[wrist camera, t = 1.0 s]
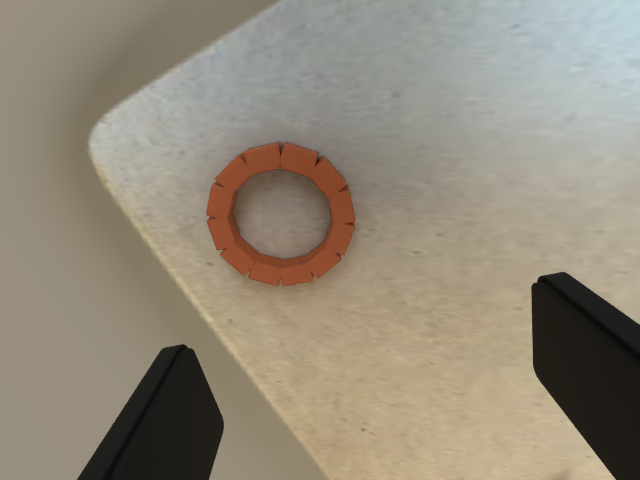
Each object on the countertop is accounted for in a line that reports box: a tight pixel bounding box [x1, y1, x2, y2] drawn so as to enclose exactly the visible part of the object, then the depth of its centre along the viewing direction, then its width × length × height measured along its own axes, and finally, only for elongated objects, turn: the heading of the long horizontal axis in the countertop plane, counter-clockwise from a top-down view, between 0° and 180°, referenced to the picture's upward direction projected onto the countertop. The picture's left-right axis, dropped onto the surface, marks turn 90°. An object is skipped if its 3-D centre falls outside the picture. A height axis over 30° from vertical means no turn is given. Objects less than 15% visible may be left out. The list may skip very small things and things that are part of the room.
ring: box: [206, 142, 355, 286], centre depth 22 cm, size 9×9×1 cm
